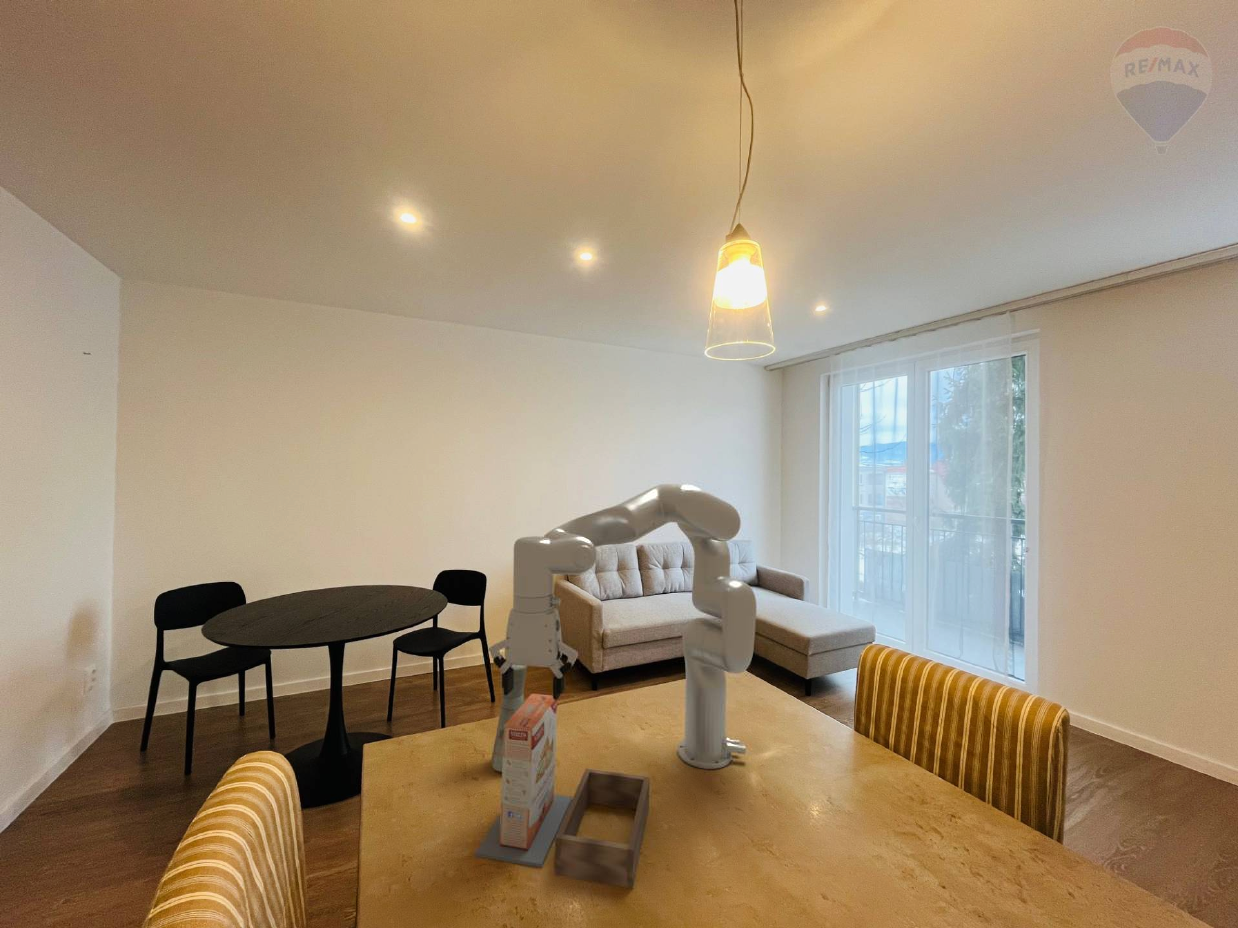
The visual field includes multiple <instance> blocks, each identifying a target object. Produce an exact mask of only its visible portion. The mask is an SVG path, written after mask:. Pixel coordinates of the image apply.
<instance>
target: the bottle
mask: <svg viewBox="0 0 1238 928" xmlns="http://www.w3.org/2000/svg"><path fill="white" fill-rule="evenodd" d="M504 659H505V658H504ZM505 660H506V659H505ZM511 668H513V669H514V688H513V690H512V691H511V692H510V693H509V694H508V695H504V688H502V687H501V688H502V700H501V706H500V711H499V715H498V717H499V718H498V723H497V728H496V733H495V734H496V735H495V740H494V744H493V748H492V749H493V750H492V755H491V759H490V760H491V765H492V768H493V769H494V771H497V772H501V773H502V765H503V739H504V725H505V724H506V723H507V721H508V720H509V719H510V718H511V717H512V716H513V715H514V714H515V712H516V711H517V710H518V709H519V708H520V707H521V705H522V704H523V703H524V702H525V699H524V689H525V688H524V686H525V681H526V675H527V669H528V666H524V665H514V664H513V665H512V666H511ZM500 680H501V684H502V673H500Z"/></svg>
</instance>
